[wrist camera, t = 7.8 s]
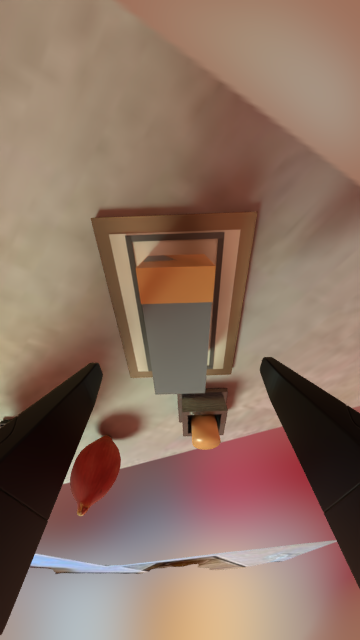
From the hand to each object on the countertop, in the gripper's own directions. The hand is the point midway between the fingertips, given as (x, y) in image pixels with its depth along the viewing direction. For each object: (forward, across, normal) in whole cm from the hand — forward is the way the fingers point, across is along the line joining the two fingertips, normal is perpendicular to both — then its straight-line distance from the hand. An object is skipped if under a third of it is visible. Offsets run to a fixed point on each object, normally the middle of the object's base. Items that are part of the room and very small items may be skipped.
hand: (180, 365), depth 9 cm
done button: (+5, -2, +14) cm, 15 cm away
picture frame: (+7, 0, 0) cm, 7 cm away
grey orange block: (+6, 0, 0) cm, 6 cm away
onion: (+7, +12, +21) cm, 25 cm away
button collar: (+6, -2, +14) cm, 15 cm away
